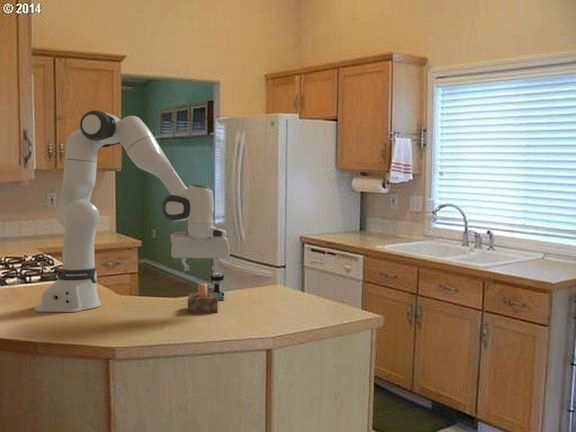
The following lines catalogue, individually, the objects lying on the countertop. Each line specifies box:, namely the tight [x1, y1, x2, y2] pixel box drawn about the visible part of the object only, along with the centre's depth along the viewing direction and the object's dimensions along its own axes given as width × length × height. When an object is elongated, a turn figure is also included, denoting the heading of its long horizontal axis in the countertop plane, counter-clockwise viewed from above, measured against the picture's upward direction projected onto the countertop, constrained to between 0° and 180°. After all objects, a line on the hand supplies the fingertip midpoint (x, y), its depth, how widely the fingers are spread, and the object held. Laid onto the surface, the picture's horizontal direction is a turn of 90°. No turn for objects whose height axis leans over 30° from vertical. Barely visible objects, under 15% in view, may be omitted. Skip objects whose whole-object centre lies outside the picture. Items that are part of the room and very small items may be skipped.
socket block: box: [187, 292, 219, 314], centre depth 219 cm, size 10×10×5 cm
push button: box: [209, 272, 227, 301], centre depth 236 cm, size 7×5×10 cm
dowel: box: [197, 283, 208, 297], centre depth 219 cm, size 3×3×9 cm
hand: (200, 270), depth 218 cm, fingers open, 8 cm apart
